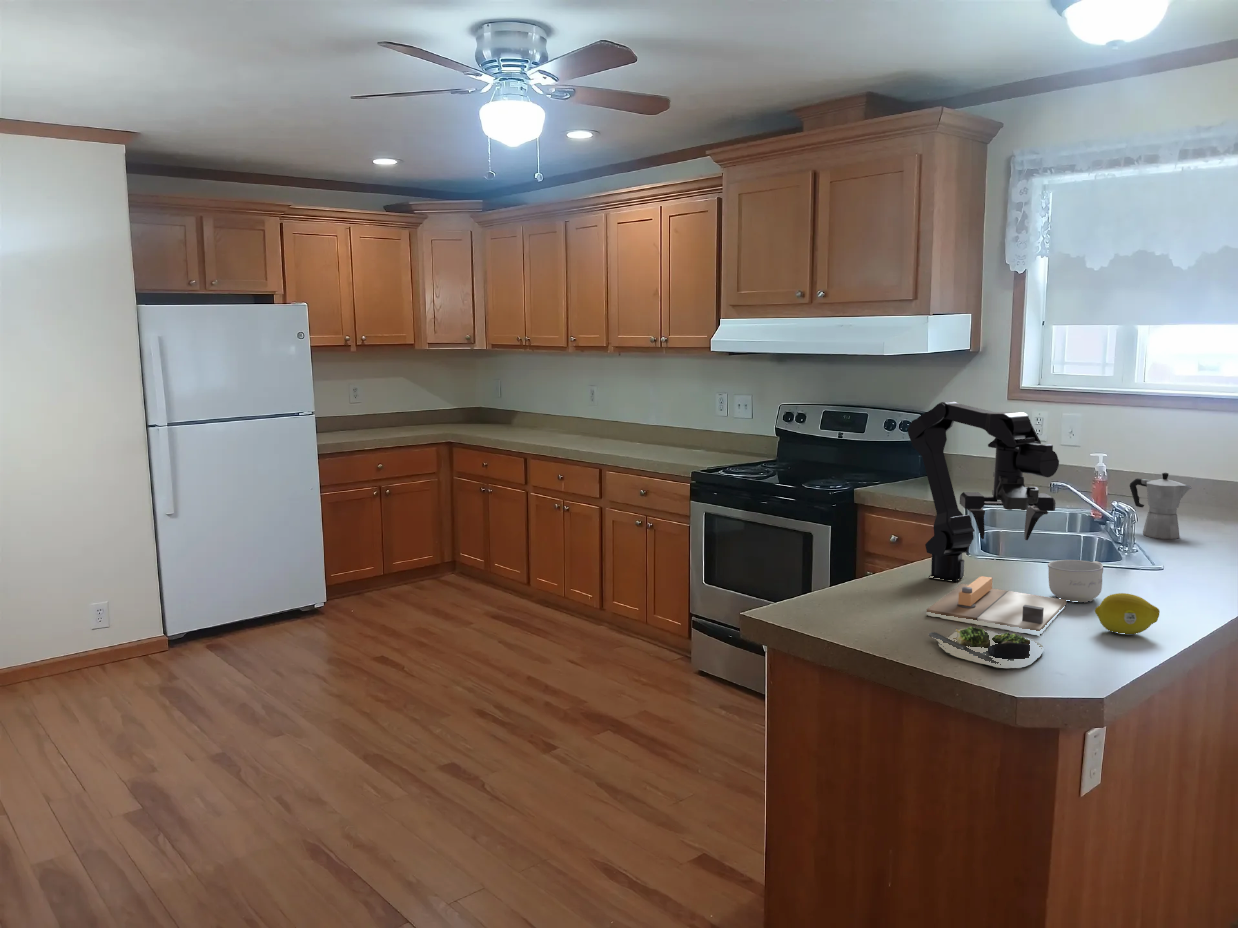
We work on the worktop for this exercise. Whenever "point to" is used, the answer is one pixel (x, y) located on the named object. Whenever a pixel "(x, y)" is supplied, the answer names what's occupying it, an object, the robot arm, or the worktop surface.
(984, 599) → the door and jamb
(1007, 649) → the salad plate
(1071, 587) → the teacup
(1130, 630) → the lemon
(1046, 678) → the worktop surface
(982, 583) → the bar
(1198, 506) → the worktop surface
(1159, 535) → the coffeepot
